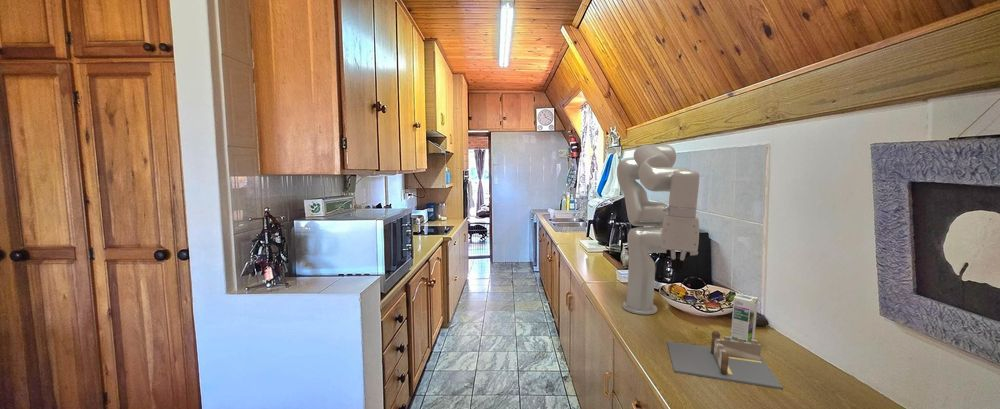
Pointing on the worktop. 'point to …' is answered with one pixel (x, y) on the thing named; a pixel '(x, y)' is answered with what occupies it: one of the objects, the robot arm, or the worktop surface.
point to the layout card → (706, 365)
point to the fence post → (738, 347)
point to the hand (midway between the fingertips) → (676, 271)
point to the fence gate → (721, 356)
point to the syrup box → (744, 317)
